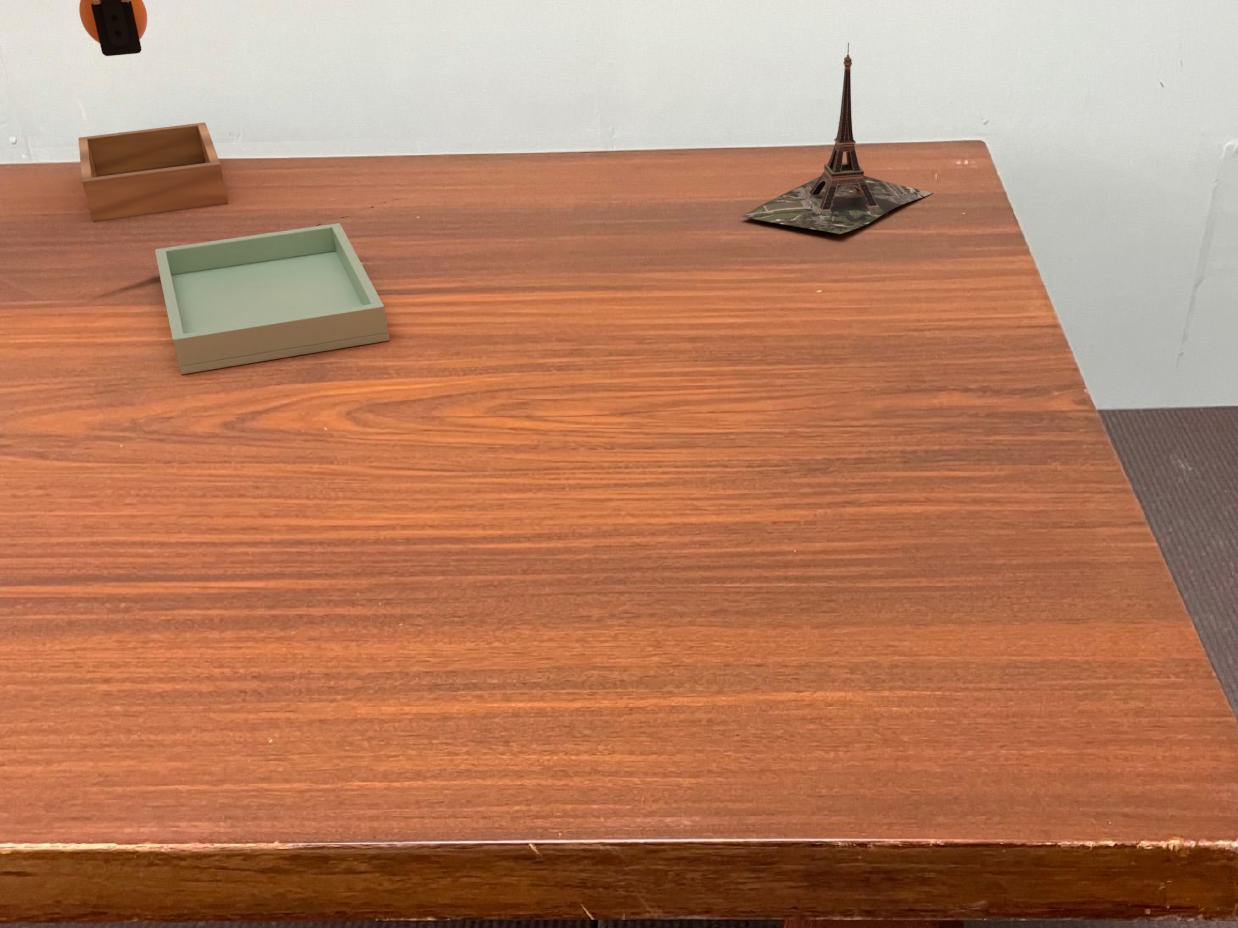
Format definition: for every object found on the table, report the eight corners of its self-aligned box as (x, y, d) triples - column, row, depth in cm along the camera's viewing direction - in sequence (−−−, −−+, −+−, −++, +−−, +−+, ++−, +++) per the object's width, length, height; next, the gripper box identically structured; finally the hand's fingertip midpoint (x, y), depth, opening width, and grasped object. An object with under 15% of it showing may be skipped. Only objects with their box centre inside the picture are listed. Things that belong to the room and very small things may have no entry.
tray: (389, 340, 105) (384, 306, 103) (181, 374, 101) (172, 339, 100) (345, 253, 120) (339, 222, 119) (162, 280, 116) (154, 248, 115)
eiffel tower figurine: (834, 174, 133) (839, 17, 125) (933, 192, 128) (945, 29, 120) (740, 221, 124) (740, 53, 116) (843, 242, 118) (849, 69, 111)
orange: (110, 60, 123) (93, -12, 119) (76, 51, 126) (59, -20, 122) (166, 49, 126) (151, -22, 123) (132, 40, 129) (117, -29, 126)
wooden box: (230, 210, 130) (220, 163, 128) (94, 228, 127) (82, 181, 125) (214, 165, 142) (205, 122, 139) (89, 181, 139) (78, 137, 136)
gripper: (15, -204, 121) (72, 31, 131) (15, -187, 108) (77, 72, 118) (110, -209, 123) (158, 23, 133) (121, -192, 110) (173, 63, 120)
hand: (120, 44), depth 126 cm, fingers closed on orange, 5 cm apart
